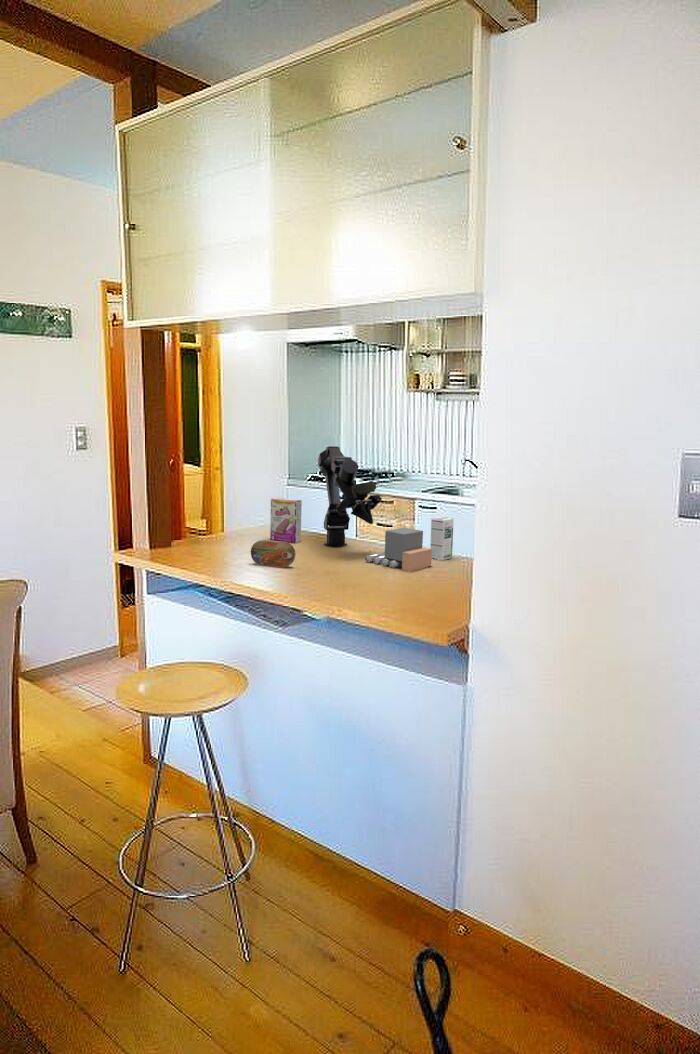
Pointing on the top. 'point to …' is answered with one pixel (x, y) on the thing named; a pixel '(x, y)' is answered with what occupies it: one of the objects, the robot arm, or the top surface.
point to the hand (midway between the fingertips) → (372, 523)
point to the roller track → (383, 560)
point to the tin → (273, 553)
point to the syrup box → (441, 537)
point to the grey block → (402, 542)
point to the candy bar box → (285, 520)
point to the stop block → (416, 559)
